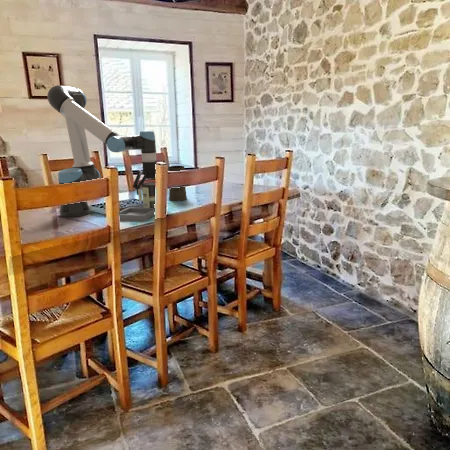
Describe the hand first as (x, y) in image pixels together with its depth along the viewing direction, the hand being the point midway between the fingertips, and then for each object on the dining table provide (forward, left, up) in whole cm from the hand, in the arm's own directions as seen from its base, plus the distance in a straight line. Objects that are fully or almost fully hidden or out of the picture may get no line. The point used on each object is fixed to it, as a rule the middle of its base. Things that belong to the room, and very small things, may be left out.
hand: (152, 201), depth 209 cm
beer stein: (-21, +22, -5) cm, 31 cm away
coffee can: (0, 0, -5) cm, 5 cm away
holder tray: (+11, -12, -5) cm, 17 cm away
